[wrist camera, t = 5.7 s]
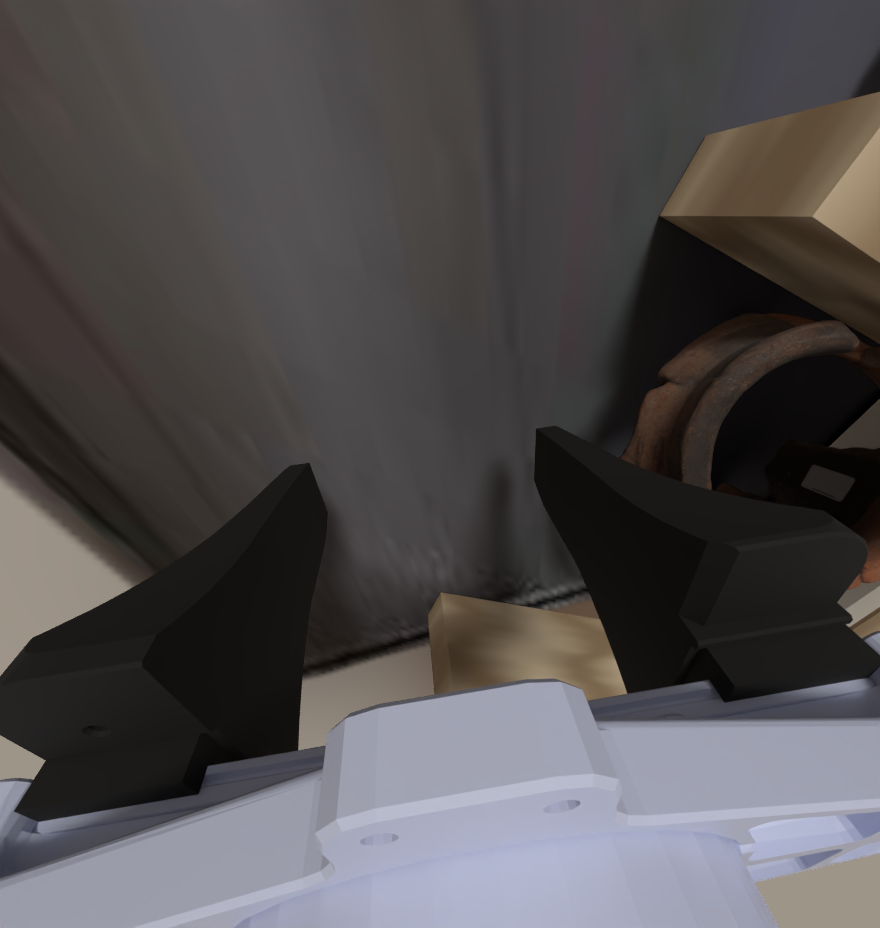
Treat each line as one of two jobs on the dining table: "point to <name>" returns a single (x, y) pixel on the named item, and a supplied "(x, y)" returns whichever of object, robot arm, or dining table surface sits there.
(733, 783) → the robot arm
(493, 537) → the dining table surface
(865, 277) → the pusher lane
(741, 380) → the pottery mug
